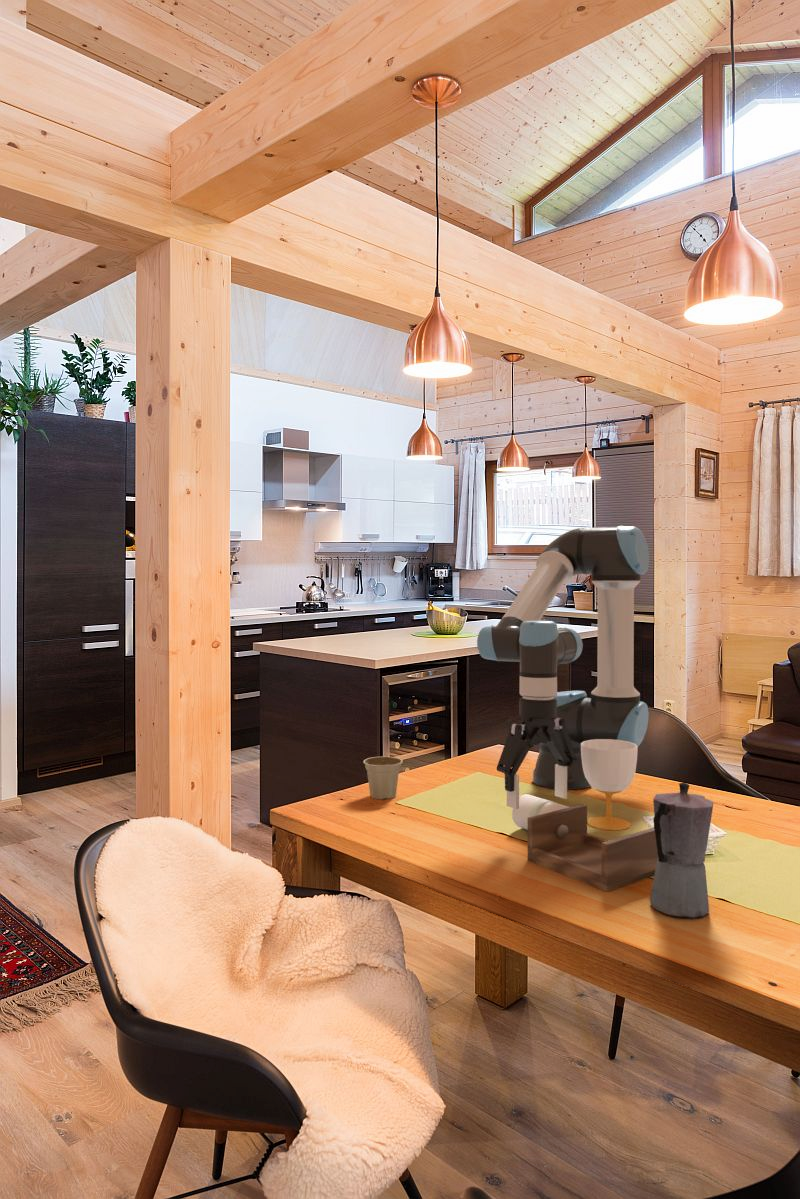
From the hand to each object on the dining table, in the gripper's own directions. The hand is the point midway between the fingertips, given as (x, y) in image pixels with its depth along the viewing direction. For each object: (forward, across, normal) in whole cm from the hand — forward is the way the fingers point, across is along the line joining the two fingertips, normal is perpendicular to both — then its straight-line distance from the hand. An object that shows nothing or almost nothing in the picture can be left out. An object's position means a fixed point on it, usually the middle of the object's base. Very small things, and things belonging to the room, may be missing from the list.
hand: (537, 802), depth 165 cm
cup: (+7, -18, +3) cm, 20 cm away
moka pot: (+8, +8, +39) cm, 40 cm away
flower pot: (+7, +8, -44) cm, 45 cm away
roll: (+7, -1, 0) cm, 7 cm away
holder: (+7, +4, +18) cm, 20 cm away
